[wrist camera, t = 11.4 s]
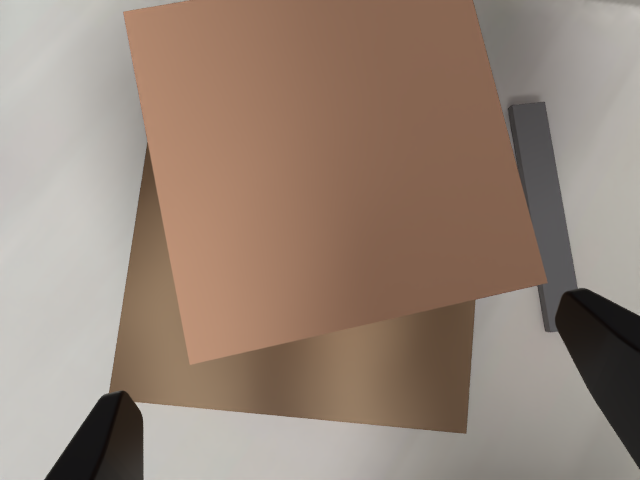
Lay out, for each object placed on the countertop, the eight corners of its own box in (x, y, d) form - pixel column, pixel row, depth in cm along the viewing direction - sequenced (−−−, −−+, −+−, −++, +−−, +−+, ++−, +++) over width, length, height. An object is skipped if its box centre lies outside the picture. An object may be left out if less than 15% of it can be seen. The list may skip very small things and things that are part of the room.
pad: (479, 105, 20) (489, 96, 19) (457, 425, 19) (466, 433, 18) (167, 66, 20) (160, 54, 19) (118, 393, 18) (108, 399, 17)
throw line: (508, 108, 20) (512, 105, 20) (540, 105, 20) (544, 101, 20) (545, 331, 19) (550, 332, 19) (578, 327, 19) (584, 327, 19)
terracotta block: (382, 285, 18) (547, 283, 6) (261, 312, 18) (190, 365, 6) (355, 167, 19) (460, -46, 7) (236, 191, 18) (122, 11, 6)
